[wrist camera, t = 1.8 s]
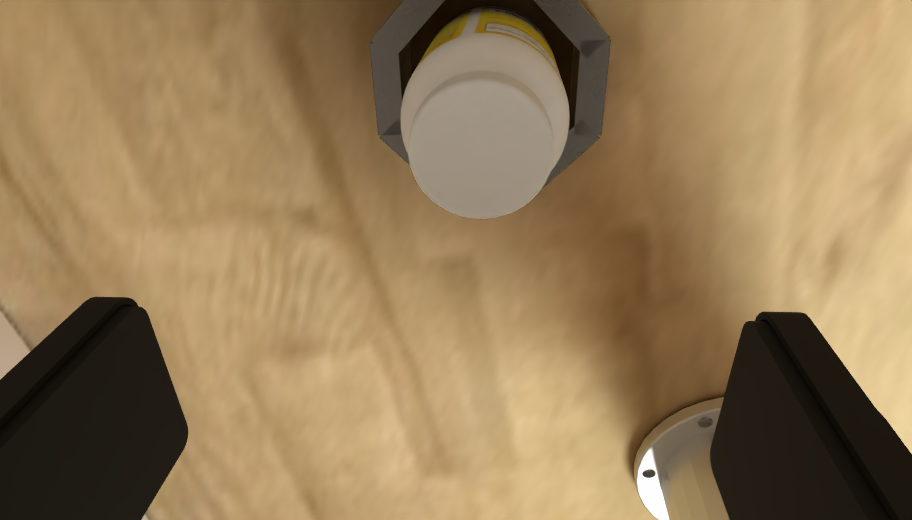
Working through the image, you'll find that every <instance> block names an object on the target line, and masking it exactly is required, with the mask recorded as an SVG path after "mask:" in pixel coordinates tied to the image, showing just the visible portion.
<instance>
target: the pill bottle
mask: <svg viewBox="0 0 912 520" xmlns="http://www.w3.org/2000/svg"><path fill="white" fill-rule="evenodd" d="M569 117H570V115H569V104H568V99H567V95H566V92H565V88H564V85H563V82H562V80H561V77H560V74H559V71H558V67H557V64H556V61H555V57H554V54H553V52H552V49H551V46H550V44H549V42H548V40H547V38H546V37H545V35H544V34H543V32H542V31H541V30H540V29H539V28H538V27H537V25H536V24H535V23H533V22H532V21H531V20H530V19H529V18H527V17H526V16H524V15H522V14H520V13H518V12H516V11H514V10H511V9H508V8H504V7H497V6H483V7H477V8H473V9H470V10H467V11H465V12H463V13H461V14H459V15H457V16H456V17H454V18H452V19H451V20H450V21H449V22H448V23H446V24H445V25H444V26H443V27H442V28H441V30H440V31H439V32H438V33H437V35H436V36H435V37H434V39H433V41H432V42H431V44H430V46H429V47H428V49H427V51H426V52H425V54H424V56H423V58H422V59H421V61H420V62H419V64H418V66H417V67H416V69H415V71H414V72H413V74H412V76H411V78H410V80H409V82H408V84H407V87H406V89H405V92H404V96H403V100H402V106H401V133H402V138H403V143H404V145H405V148H406V151H407V153H408V158H409V163H410V167H411V171H412V173H413V175H414V178H415V180H416V182H417V184H418V185H419V187H420V188H421V189H422V191H423V192H424V193H425V194H426V195H427V196H428V197H429V198H430V199H431V200H432V201H433V202H434V203H435V204H437V205H438V206H439V207H441V208H443V209H445V210H446V211H448V212H450V213H453V214H455V215H459V216H462V217H466V218H473V219H491V218H496V217H501V216H504V215H507V214H510V213H512V212H514V211H517V210H518V209H520V208H522V207H523V206H525V205H526V204H527V203H529V202H530V201H531V200H532V199H533V198H534V197H535V196H536V195H537V194H538V192H539V191H540V190H541V189H542V187H543V186H544V184H545V183H546V181H547V178H548V176H549V174H550V172H551V171H552V169H553V168H554V167H555V165H556V163H557V162H558V160H559V158H560V156H561V154H562V152H563V150H564V147H565V144H566V140H567V135H568V129H569Z"/></svg>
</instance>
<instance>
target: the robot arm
mask: <svg viewBox="0 0 912 520" xmlns="http://www.w3.org/2000/svg"><path fill="white" fill-rule="evenodd" d="M187 438H188V427H187V423H186V420H185V417H184V414H183V412H182V409H181V406H180V403H179V400H178V398H177V395H176V392H175V389H174V386H173V384H172V381H171V378H170V375H169V372H168V370H167V367H166V364H165V361H164V358H163V356H162V353H161V350H160V347H159V344H158V341H157V339H156V336H155V333H154V330H153V327H152V325H151V322H150V319H149V316H148V314H147V312H146V310H145V309H143V308H142V307H138V305H137V303H136V302H135V301H134V300H133V299H130V298H125V297H93V298H90V299H88V300H87V301H85V302H84V303H83V304H82V305H81V306H80V307H79V308H78V309H76V310H75V311H74V312H73V313H72V314H71V315H70V316H69V317H68V318H67V319H66V320H65V321H63V322H62V323H61V324H60V325H59V326H58V327H57V328H56V329H55V330H54V331H53V332H52V333H50V334H49V335H48V336H47V337H46V338H45V339H44V340H43V341H42V342H41V343H40V344H39V345H37V346H36V347H35V348H34V349H33V350H32V351H31V352H30V353H29V354H28V355H27V356H26V357H24V358H23V359H22V360H21V361H20V362H19V363H18V364H17V365H16V366H15V367H14V368H12V369H11V370H10V371H9V372H8V373H7V374H6V375H5V376H4V377H3V378H2V379H1V380H0V520H141V519H142V517H143V516H144V514H145V512H146V511H147V509H148V507H149V506H150V504H151V503H152V501H153V499H154V498H155V496H156V494H157V493H158V491H159V489H160V488H161V486H162V484H163V483H164V481H165V479H166V478H167V476H168V474H169V473H170V471H171V469H172V468H173V466H174V465H175V463H176V461H177V460H178V458H179V456H180V455H181V453H182V451H183V450H184V448H185V445H186V442H187ZM634 479H635V483H636V487H637V492H638V495H639V497H640V499H641V501H642V503H643V504H644V506H645V507H646V508H647V509H648V510H649V511H650V513H651V514H652V515H654V516H655V517H656V518H658V519H659V520H912V454H911V453H910V452H909V450H908V449H907V447H906V446H905V445H904V443H903V442H902V441H901V439H900V438H899V437H898V435H897V434H896V432H895V431H894V430H893V428H892V427H891V426H890V424H889V423H888V422H887V420H886V419H885V418H884V417H883V416H882V415H881V413H880V412H879V411H878V410H877V409H876V408H875V407H874V405H873V404H872V403H871V401H870V400H869V398H868V397H867V396H866V394H865V393H864V392H863V390H862V389H861V388H860V386H859V385H858V383H857V382H856V381H855V379H854V378H853V377H852V375H851V374H850V372H849V371H848V370H847V368H846V367H845V366H844V364H843V363H842V362H841V360H840V359H839V357H838V356H837V355H836V353H835V352H834V351H833V349H832V348H831V346H830V345H829V344H828V342H827V341H826V340H825V338H824V337H823V335H822V334H821V333H820V331H819V330H818V329H817V327H816V326H815V325H814V323H813V322H812V320H811V319H810V318H809V317H808V316H807V315H806V314H804V313H800V312H761V313H759V315H758V316H757V317H756V320H755V321H748V322H746V323H745V324H744V326H743V329H742V332H741V336H740V339H739V343H738V347H737V351H736V354H735V358H734V362H733V366H732V369H731V373H730V377H729V380H728V384H727V388H726V392H725V395H724V397H720V398H716V399H712V400H708V401H703V402H700V403H697V404H695V405H692V406H690V407H687V408H684V409H682V410H680V411H679V412H677V413H675V414H673V415H672V416H670V417H668V418H666V419H665V420H664V421H663V422H661V423H660V424H659V425H658V426H656V427H655V428H654V429H653V430H652V431H651V432H650V433H649V435H648V436H647V437H646V438H645V439H644V440H643V442H642V444H641V446H640V448H639V450H638V451H637V454H636V458H635V462H634Z"/></svg>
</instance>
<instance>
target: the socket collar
mask: <svg viewBox="0 0 912 520" xmlns="http://www.w3.org/2000/svg"><path fill="white" fill-rule="evenodd" d="M534 1H535V2H536V4H537V5H538V6H539V7H540V8H541V9H542V10H543V11H544V12H545V13H546V15H547V16H548V17H549V18H550V19H551V20H552V21H553V22H554V23H555V24H556V26H557V27H558V28H559V29H560V30H561V31H562V32H563V33H564V34H565V35H566V37H567V38H568V39H569V40H570V41H571V42H572V43H573V57H572V72H571V87H570V101H569V115H570V117H569V129H568V135H567V140H566V144H565V147H564V150H563V152H562V154H561V156H560V158H559V160H558V162H557V163H556V165H555V167H554V168H553V169H552V171H551V172H550V174H549V176H548V178H547V181H546V183H545V184H544V186H545V185H547V184H548V183H549V182H550V181H551V180H552V179H553V178H555V177H556V176H557V175H558V174H559V173H560V172H562V171H563V170H564V169H565V168H566V167H567V166H568V165H570V164H571V163H572V162H573V161H574V160H575V159H576V158H578V157H579V156H580V155H581V154H582V153H583V152H584V151H586V150H587V149H588V148H589V147H590V146H591V145H593V144H594V143H595V142H596V141H597V140H598V139H599V138H600V137H599V135H601V134H602V124H603V114H604V104H605V93H606V83H607V73H608V63H609V53H610V43H611V40H610V39H609V36H608V34H607V33H606V32H605V30H604V29H603V28H602V27H601V25H600V24H599V23H598V22H597V21H596V20H595V18H594V17H593V16H592V15H591V14H590V13H589V12H588V10H587V9H586V8H585V7H584V6H583V5H582V4H581V3H580V1H579V0H534ZM443 2H444V0H404V1H403V2H402V3H401V4H400V5H399V7H398V8H397V9H396V10H395V11H394V13H393V14H392V15H391V16H390V17H389V19H388V20H387V21H386V22H385V23H384V25H383V26H382V27H381V28H380V30H379V31H378V32H377V33H376V34H375V36H374V37H373V38H372V39H371V41H372V42H371V43H370V53H371V63H372V74H373V84H374V95H375V105H376V116H377V126H378V135H381V136H380V139H382V140H383V141H384V142H385V143H386V144H387V145H388V146H389V147H390V148H392V149H393V150H394V151H395V152H396V153H397V154H398V155H399V156H400V157H402V158H403V159H404V160H405V161H406V162H407V163H408V164H409V165H410V163H409V158H408V153H407V151H406V148H405V145H404V143H403V138H402V133H401V106H402V100H403V96H404V92H405V89H406V87H407V84H408V82H409V80H410V78H411V62H410V46H409V41H410V40H411V38H412V37H413V36H414V35H415V34H416V33H417V32H418V30H419V29H420V28H421V27H422V26H423V25H424V24H425V22H426V21H427V20H428V19H429V18H430V17H431V15H432V14H433V13H434V12H435V11H436V10H437V9H438V7H439V6H440V5H441V4H442V3H443ZM544 186H543V187H544ZM543 187H542V188H543Z"/></svg>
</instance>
